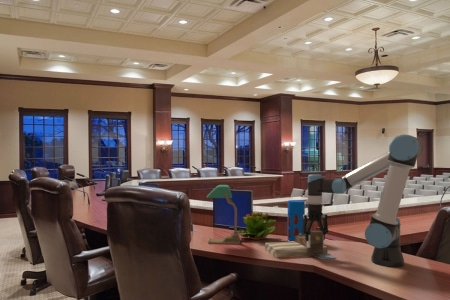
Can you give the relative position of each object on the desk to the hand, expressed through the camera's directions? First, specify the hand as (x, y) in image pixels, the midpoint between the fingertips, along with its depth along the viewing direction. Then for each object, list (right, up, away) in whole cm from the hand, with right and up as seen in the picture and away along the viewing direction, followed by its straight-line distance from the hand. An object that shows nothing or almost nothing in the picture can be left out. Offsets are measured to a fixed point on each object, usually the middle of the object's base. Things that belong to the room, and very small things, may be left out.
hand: (315, 246), depth 188 cm
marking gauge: (-2, -4, +7) cm, 8 cm away
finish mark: (+5, -5, 0) cm, 7 cm away
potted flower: (-26, -6, +43) cm, 51 cm away
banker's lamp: (-49, -6, +31) cm, 58 cm away
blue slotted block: (-2, -7, +38) cm, 39 cm away
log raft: (-9, -5, +9) cm, 13 cm away
